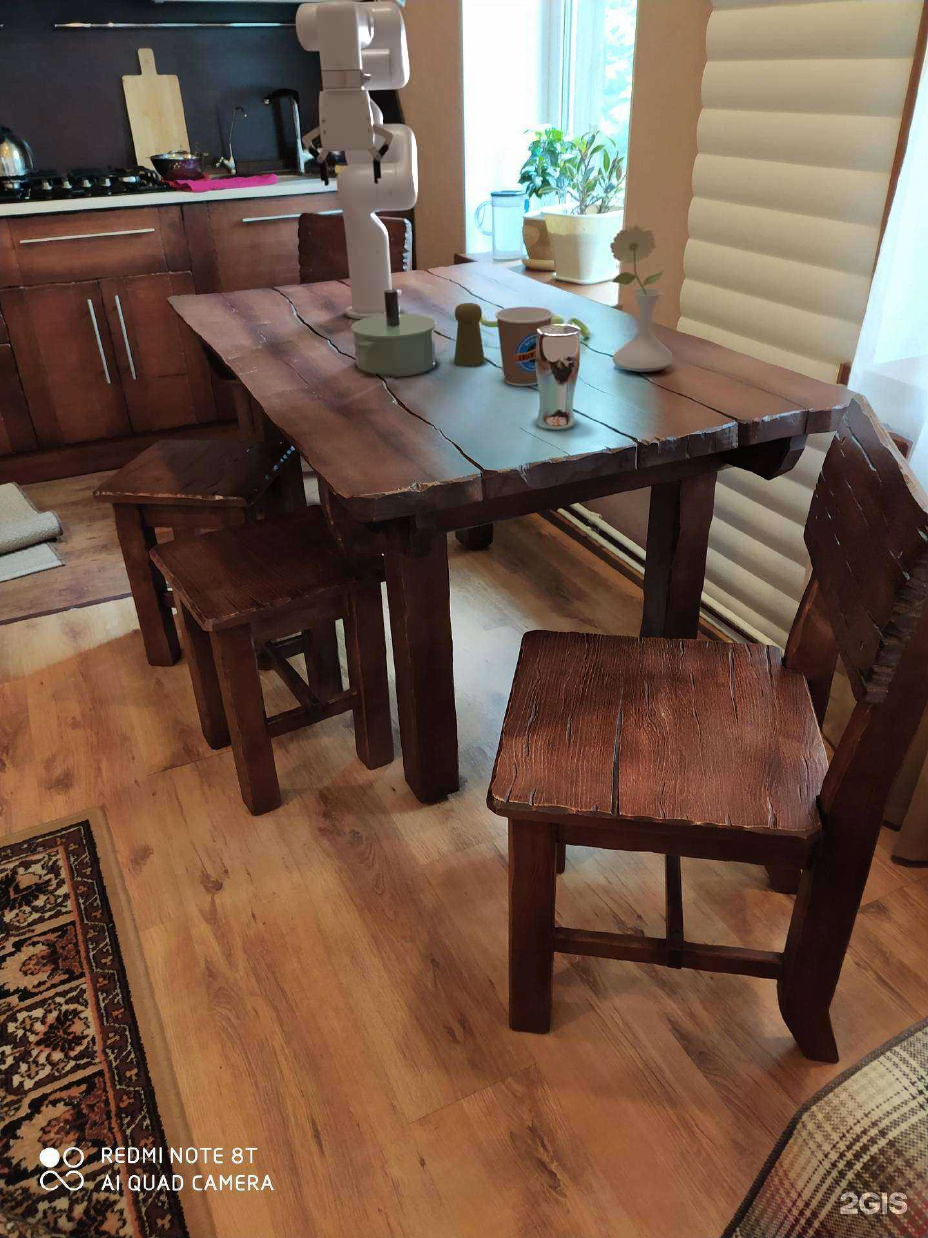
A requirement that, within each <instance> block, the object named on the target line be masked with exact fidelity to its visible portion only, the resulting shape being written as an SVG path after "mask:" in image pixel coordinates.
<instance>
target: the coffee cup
mask: <svg viewBox="0 0 928 1238" xmlns="http://www.w3.org/2000/svg"><path fill="white" fill-rule="evenodd" d="M554 314H555V313H554V312H553V311H552V310H550V309H547V308H544V307H539V306H515V307H507V308H504V309H503V308H502V309H500V310H498V311H497V312H495V315H494V316H495V318H496V321H497V323H498V327H497V331H498V339H499V348H500V354H501V363H502V374H503V375H504V376H503V377H504V380H505V383H507V384H509V385H511V386H517V387H530V386H536V385H538V382H537V376H536V367H535V350H536V339H537V329H538V328H540V327H542V326H546V325H551V318H552V317H553V315H554Z"/></svg>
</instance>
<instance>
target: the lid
mask: <svg viewBox="0 0 928 1238" xmlns="http://www.w3.org/2000/svg"><path fill="white" fill-rule="evenodd" d="M384 297H385V311H386V315H380V316H374V317H369V318H365V319H358V320H357V321H355V322H353V323H352V324H351V326H350V331H351V332H352V333H354V334H356V335H359V336H363V337H368V338H379V339H393V338H405V337H412V336H417V335H421V334H425V333H427V332H430V331H432V330H433V329H434V330H435V328H436V326H437V324H436V321H435V319H433V318H430V317H428V316H424V315H421V314H420V315H419V314H410V313H409V314H407V313H399V307H400V303H399V298H398V290H397V289H394V288H392V289H390V290H385V291H384Z"/></svg>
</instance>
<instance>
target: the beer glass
mask: <svg viewBox="0 0 928 1238" xmlns="http://www.w3.org/2000/svg"><path fill="white" fill-rule="evenodd" d="M580 330H581V329H580V328H579V327H578V326H576V325H573V324H572V325H567V324H564V323H563V324H554V325H546V326H542V327H540V328H538V329H537V339H536V350H535V367H536V376H537V382H538V384H537V388H538V395H539V408H538V412H537V413H538V414H537V418H536V424H537V425H538V427H539V428H541V429H544V430H549V431H562V430H563V431H564V430H567V429H571V428H572V427H573V426H574V425H575V423H576V422H575V421H576V420H575V415H574V414H575V413H574V395H575V389H576V387H577V383H578V382H577V381H578V376H579V370H580V361H581V336H580V335H581V334H580Z"/></svg>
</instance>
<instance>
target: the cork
mask: <svg viewBox="0 0 928 1238" xmlns="http://www.w3.org/2000/svg"><path fill="white" fill-rule="evenodd" d="M481 316H483V311H482V307H481V305H479V304H478V303H475V302H474V303H473V302H464V303H459V304H458V305H457V306H456V307H455V309H454V318H455V321H456V322H457V328H456V340H455V349H454V350H455V352H454V361H453V363H454V364H455V365H457V366H459V367H478V366H482V365H484V364H485V363H486V359H485V352H484V346H483V339H482V332H481V331H482V330H481V325H480V324H481V323H480V322H479V321H480V319H481Z"/></svg>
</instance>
